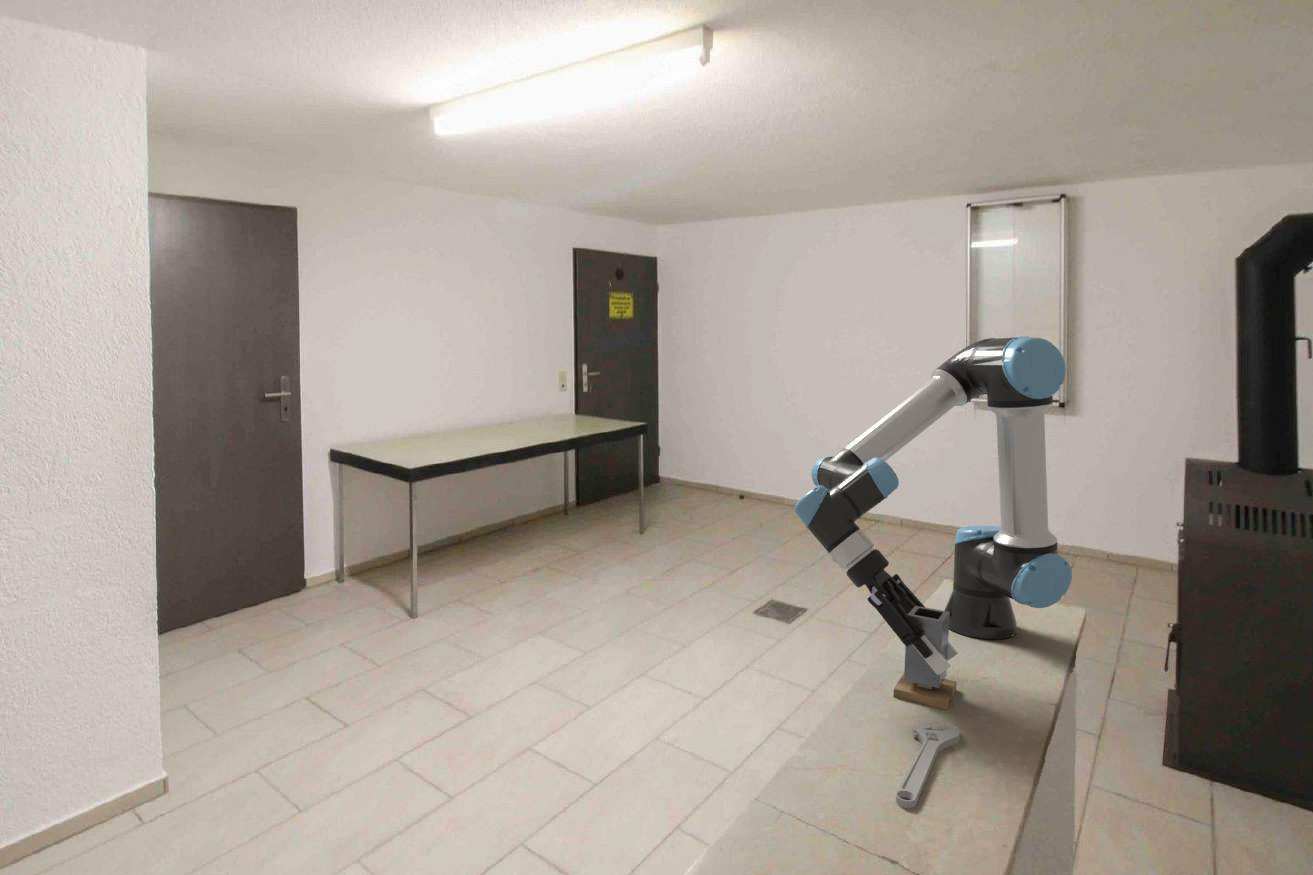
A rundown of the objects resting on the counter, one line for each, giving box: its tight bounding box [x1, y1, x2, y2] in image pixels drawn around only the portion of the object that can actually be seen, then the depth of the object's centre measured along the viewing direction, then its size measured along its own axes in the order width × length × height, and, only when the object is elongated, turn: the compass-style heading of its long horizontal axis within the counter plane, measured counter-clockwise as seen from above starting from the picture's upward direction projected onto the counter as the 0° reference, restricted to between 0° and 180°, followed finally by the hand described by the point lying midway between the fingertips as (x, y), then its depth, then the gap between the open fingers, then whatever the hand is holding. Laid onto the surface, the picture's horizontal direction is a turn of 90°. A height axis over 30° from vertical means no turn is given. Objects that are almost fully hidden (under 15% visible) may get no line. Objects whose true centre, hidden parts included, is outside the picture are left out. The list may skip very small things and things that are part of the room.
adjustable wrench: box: [895, 719, 961, 809], centre depth 108 cm, size 25×6×2 cm, turn 143°
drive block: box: [893, 673, 957, 711], centre depth 130 cm, size 9×9×6 cm
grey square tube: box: [903, 606, 950, 688], centre depth 130 cm, size 6×6×12 cm
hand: (947, 663), depth 128 cm, fingers closed on grey square tube, 6 cm apart
